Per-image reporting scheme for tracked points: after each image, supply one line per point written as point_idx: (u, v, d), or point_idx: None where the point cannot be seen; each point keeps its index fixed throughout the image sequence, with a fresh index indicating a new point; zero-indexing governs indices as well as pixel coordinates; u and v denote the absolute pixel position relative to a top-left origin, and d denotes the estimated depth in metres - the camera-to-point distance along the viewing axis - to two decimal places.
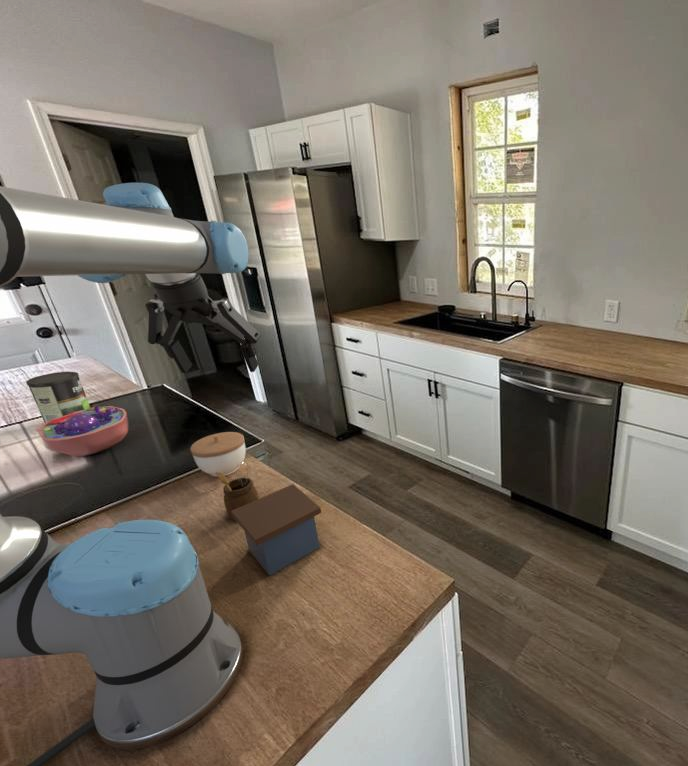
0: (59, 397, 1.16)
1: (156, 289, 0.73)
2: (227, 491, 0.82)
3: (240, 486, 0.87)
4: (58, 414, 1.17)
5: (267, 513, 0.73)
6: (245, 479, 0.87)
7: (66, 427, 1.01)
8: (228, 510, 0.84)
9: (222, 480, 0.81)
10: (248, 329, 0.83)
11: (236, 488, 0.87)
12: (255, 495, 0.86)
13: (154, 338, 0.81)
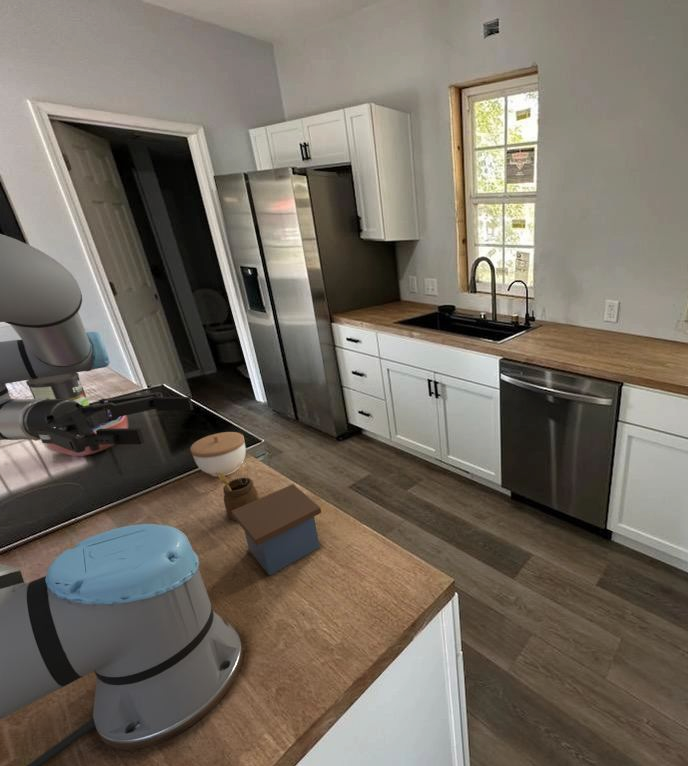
0: (59, 397, 1.16)
1: (33, 407, 0.73)
2: (227, 491, 0.82)
3: (240, 486, 0.87)
4: None
5: (267, 513, 0.73)
6: (245, 479, 0.87)
7: None
8: (228, 510, 0.84)
9: (222, 480, 0.81)
10: None
11: (236, 488, 0.87)
12: (255, 495, 0.86)
13: (75, 435, 0.69)
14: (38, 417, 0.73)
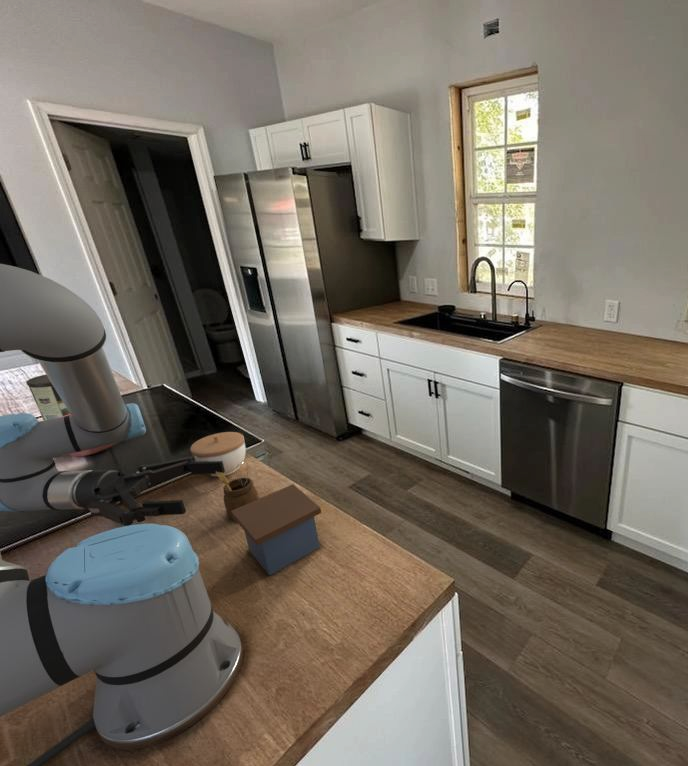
0: (59, 397, 1.16)
1: (81, 481, 0.79)
2: (227, 491, 0.82)
3: (240, 486, 0.87)
4: (58, 414, 1.17)
5: (267, 513, 0.73)
6: (245, 479, 0.87)
7: None
8: (228, 510, 0.84)
9: (222, 480, 0.81)
10: None
11: (236, 488, 0.87)
12: (255, 495, 0.86)
13: (123, 510, 0.74)
14: (86, 490, 0.78)
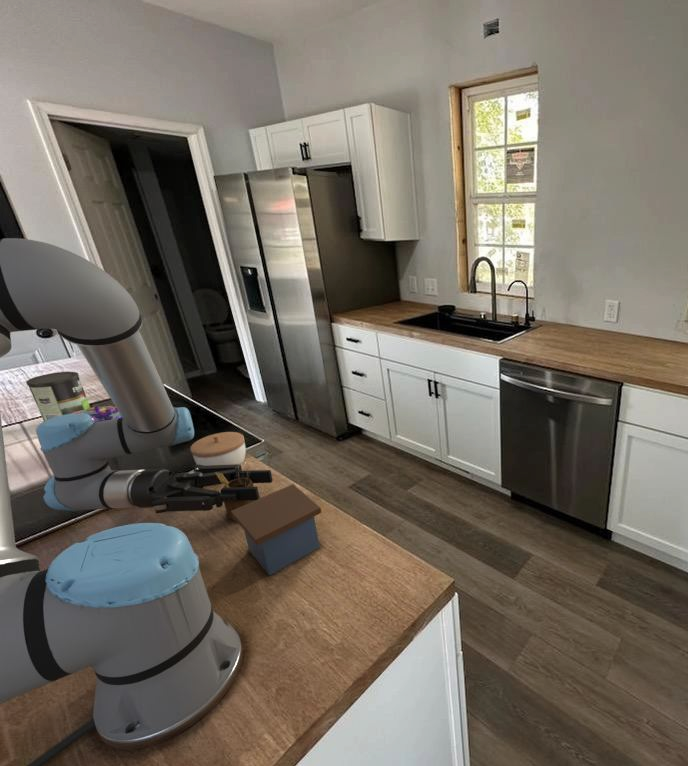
0: (59, 397, 1.16)
1: (136, 480, 0.80)
2: None
3: (240, 486, 0.87)
4: (58, 414, 1.17)
5: (267, 513, 0.73)
6: (245, 479, 0.86)
7: None
8: (228, 510, 0.84)
9: (222, 481, 0.81)
10: None
11: None
12: None
13: (201, 496, 0.79)
14: (141, 489, 0.79)
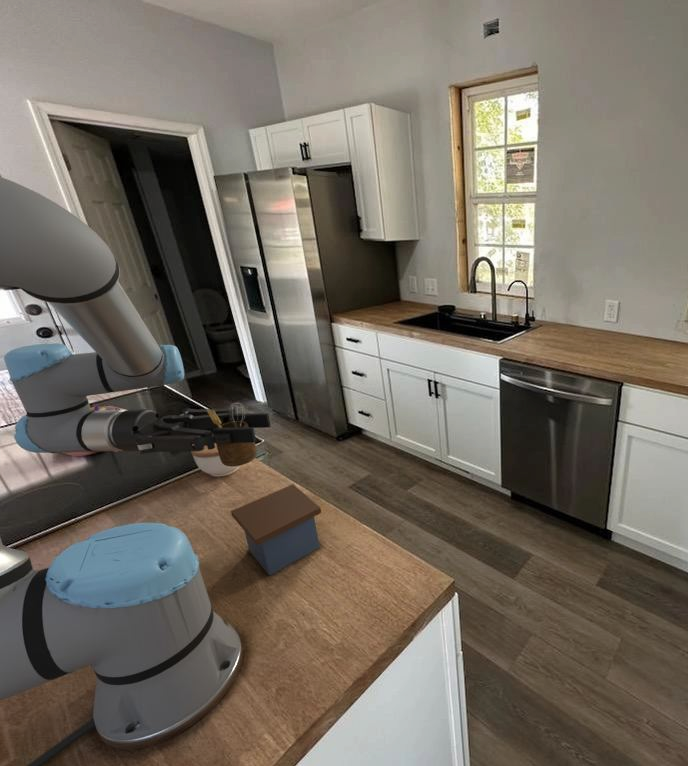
0: None
1: (118, 418, 0.72)
2: None
3: None
4: None
5: (267, 513, 0.73)
6: (240, 422, 0.78)
7: None
8: (221, 455, 0.75)
9: (214, 420, 0.73)
10: None
11: None
12: None
13: (191, 436, 0.71)
14: (124, 428, 0.71)
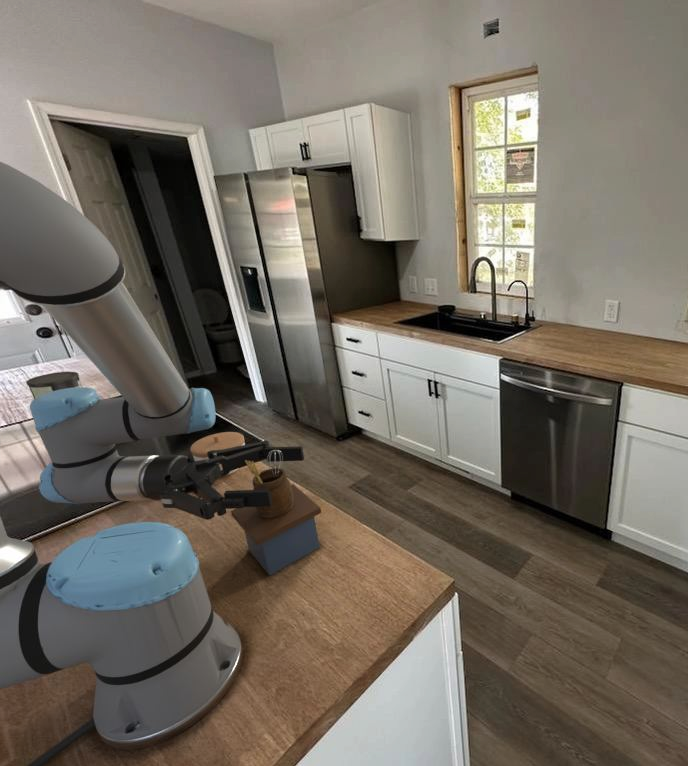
0: None
1: (149, 467, 0.67)
2: (258, 484, 0.70)
3: (271, 478, 0.75)
4: None
5: None
6: (277, 470, 0.74)
7: None
8: None
9: (252, 470, 0.68)
10: None
11: (266, 480, 0.74)
12: (289, 489, 0.73)
13: (204, 500, 0.63)
14: (155, 478, 0.66)
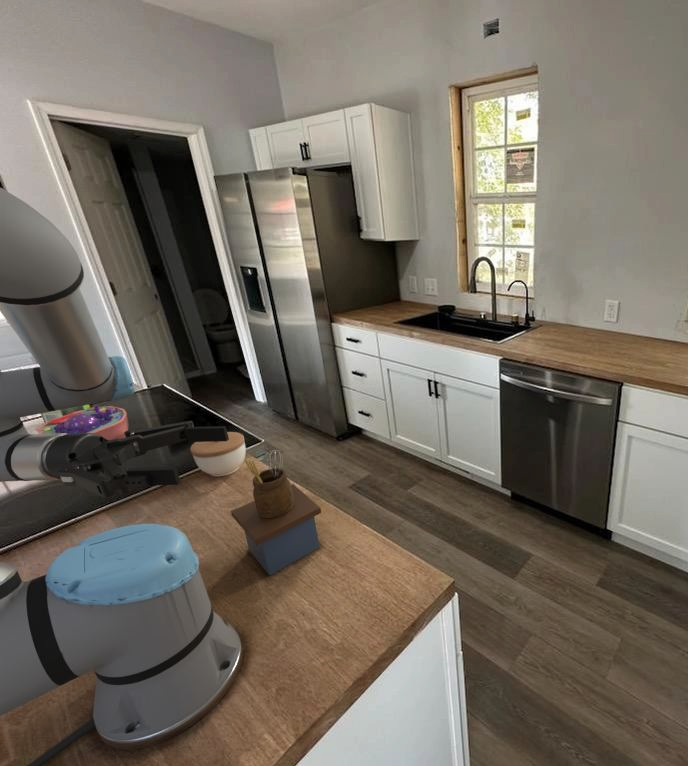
0: None
1: (53, 444, 0.64)
2: (258, 483, 0.70)
3: (271, 478, 0.75)
4: (58, 414, 1.17)
5: None
6: (277, 470, 0.74)
7: (66, 427, 1.01)
8: (258, 506, 0.71)
9: (252, 470, 0.68)
10: None
11: (266, 480, 0.74)
12: (289, 489, 0.73)
13: (102, 478, 0.60)
14: (58, 455, 0.64)
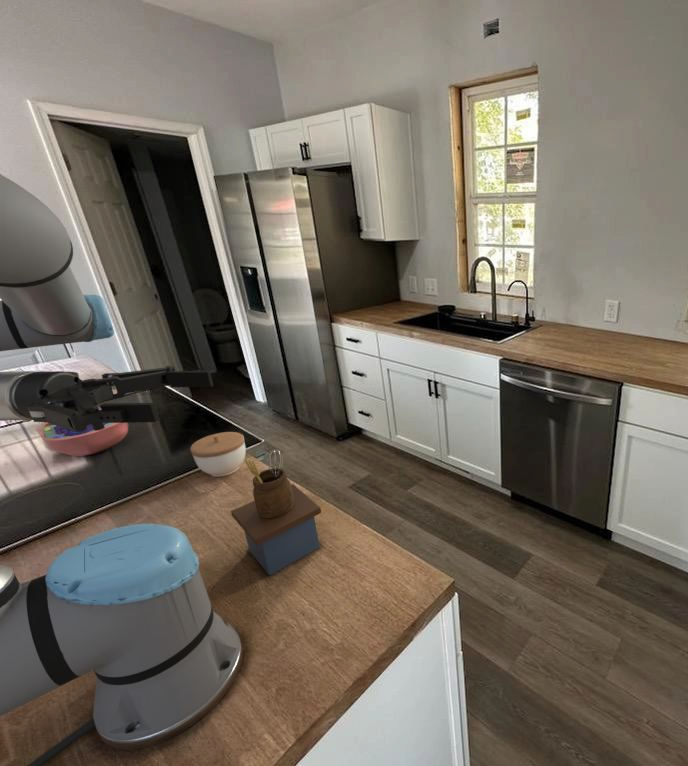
0: None
1: (23, 380, 0.60)
2: (258, 483, 0.70)
3: (271, 478, 0.75)
4: None
5: None
6: (277, 470, 0.74)
7: None
8: (258, 506, 0.71)
9: (252, 470, 0.68)
10: None
11: (266, 480, 0.74)
12: (289, 489, 0.73)
13: (74, 411, 0.56)
14: (28, 391, 0.60)
